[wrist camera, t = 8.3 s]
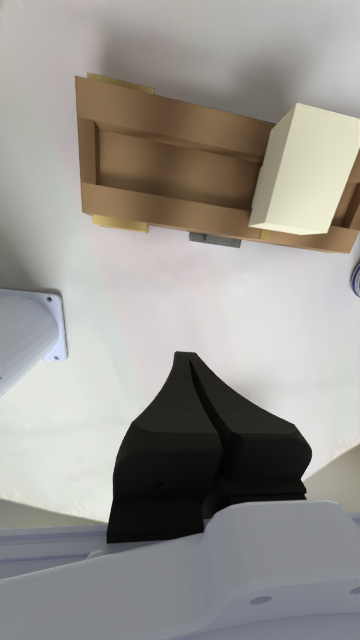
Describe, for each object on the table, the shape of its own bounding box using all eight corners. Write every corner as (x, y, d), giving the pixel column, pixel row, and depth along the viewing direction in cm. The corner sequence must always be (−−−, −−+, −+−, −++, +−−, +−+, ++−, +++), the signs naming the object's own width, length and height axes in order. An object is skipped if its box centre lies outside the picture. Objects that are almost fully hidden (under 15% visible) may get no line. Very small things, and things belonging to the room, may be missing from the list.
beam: (96, 225, 16) (82, 221, 13) (92, 99, 13) (73, 59, 10) (319, 258, 19) (347, 260, 16) (357, 159, 16) (400, 140, 13)
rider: (241, 228, 15) (264, 222, 12) (261, 140, 13) (296, 102, 10) (290, 235, 16) (327, 232, 12) (316, 153, 14) (369, 121, 10)
